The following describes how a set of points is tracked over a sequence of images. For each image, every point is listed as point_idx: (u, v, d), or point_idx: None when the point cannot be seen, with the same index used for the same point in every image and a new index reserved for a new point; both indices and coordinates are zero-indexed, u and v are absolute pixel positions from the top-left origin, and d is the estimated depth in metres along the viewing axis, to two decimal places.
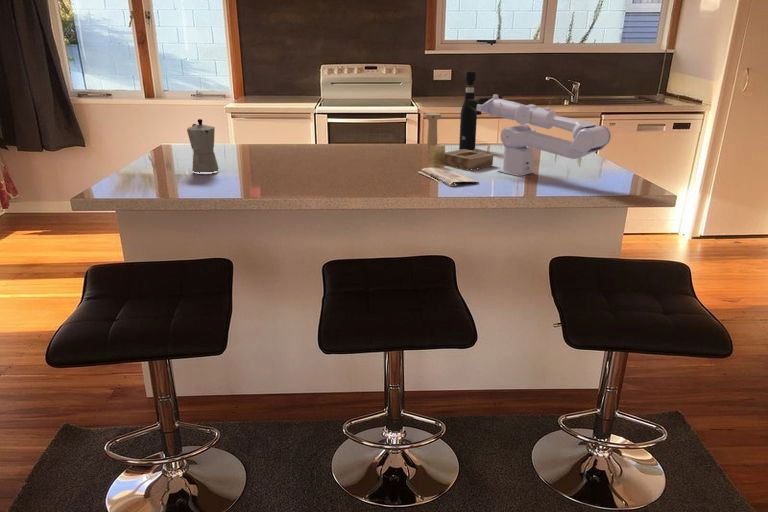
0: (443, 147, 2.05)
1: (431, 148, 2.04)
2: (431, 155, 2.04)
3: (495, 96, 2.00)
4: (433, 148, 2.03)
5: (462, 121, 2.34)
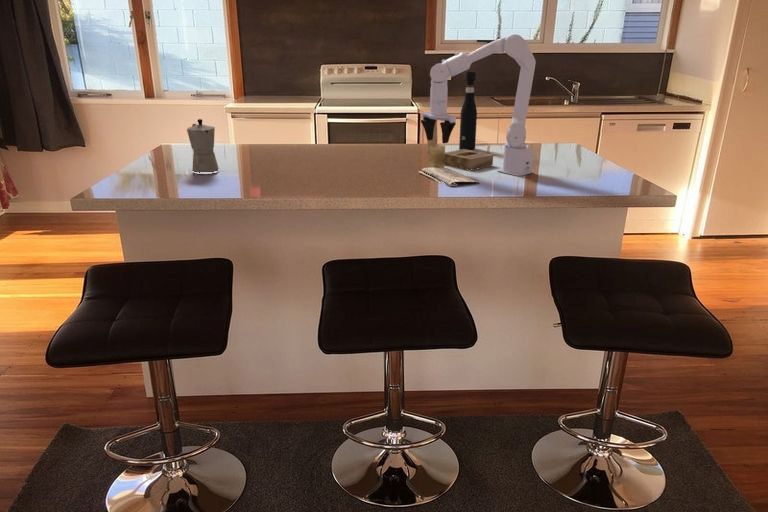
0: (443, 147, 2.05)
1: (431, 148, 2.04)
2: (431, 155, 2.04)
3: (432, 115, 1.98)
4: (433, 148, 2.03)
5: (462, 121, 2.34)
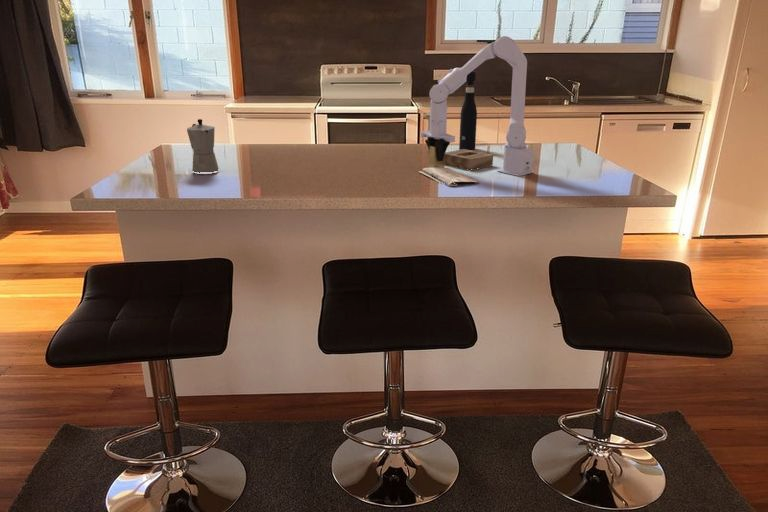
0: None
1: (431, 148, 2.04)
2: (431, 155, 2.04)
3: (431, 135, 2.01)
4: (433, 148, 2.03)
5: (462, 121, 2.34)
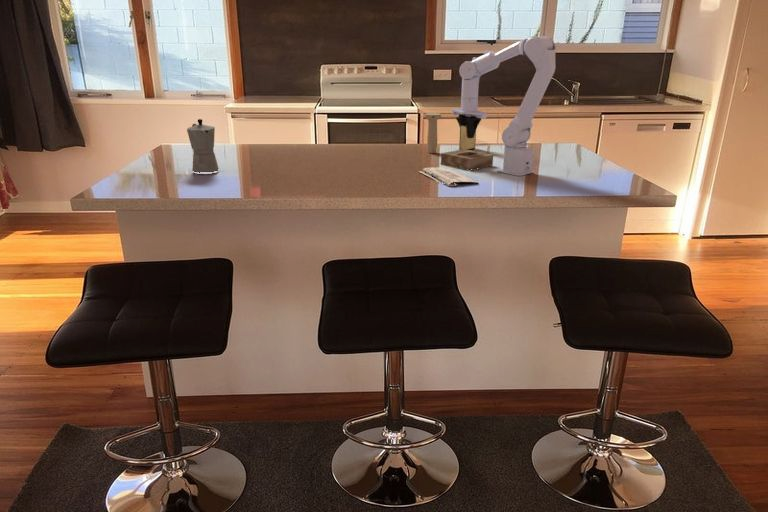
0: None
1: (462, 128, 2.06)
2: (462, 135, 2.07)
3: (463, 111, 2.03)
4: (464, 127, 2.06)
5: None
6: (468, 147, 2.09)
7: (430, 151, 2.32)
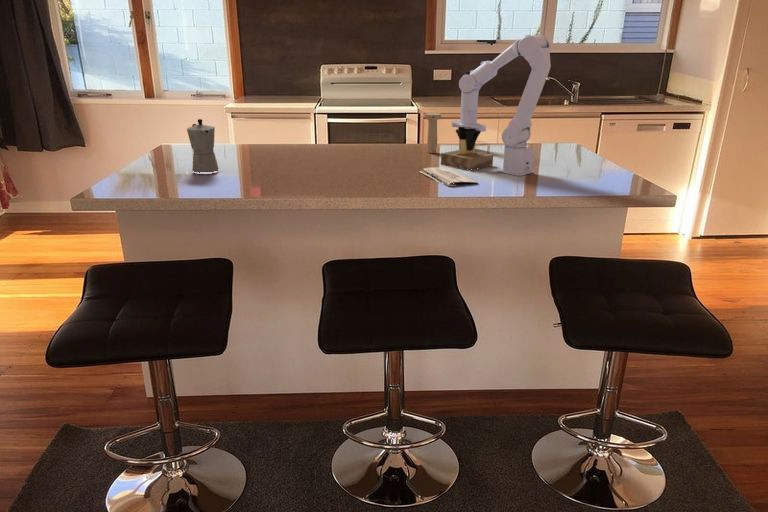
0: None
1: (462, 141, 2.08)
2: (462, 148, 2.09)
3: (462, 124, 2.05)
4: (464, 141, 2.07)
5: None
6: None
7: (430, 151, 2.32)
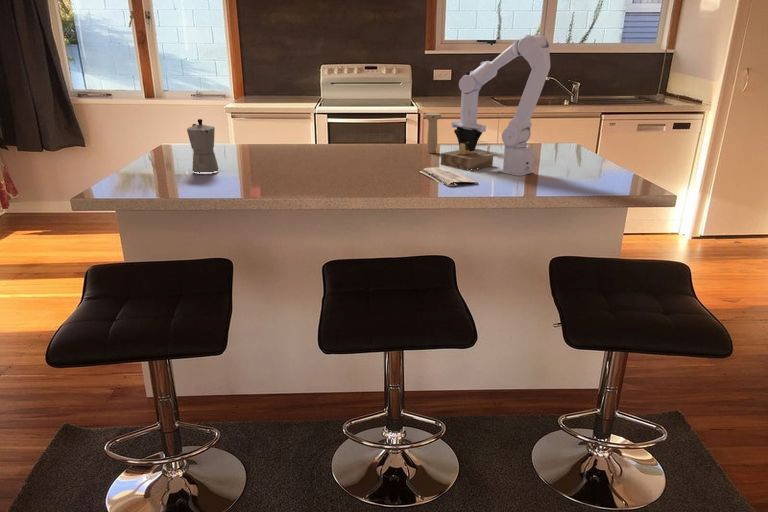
0: None
1: (461, 145, 2.09)
2: (461, 152, 2.09)
3: (462, 125, 2.05)
4: (463, 145, 2.08)
5: None
6: None
7: (430, 151, 2.32)
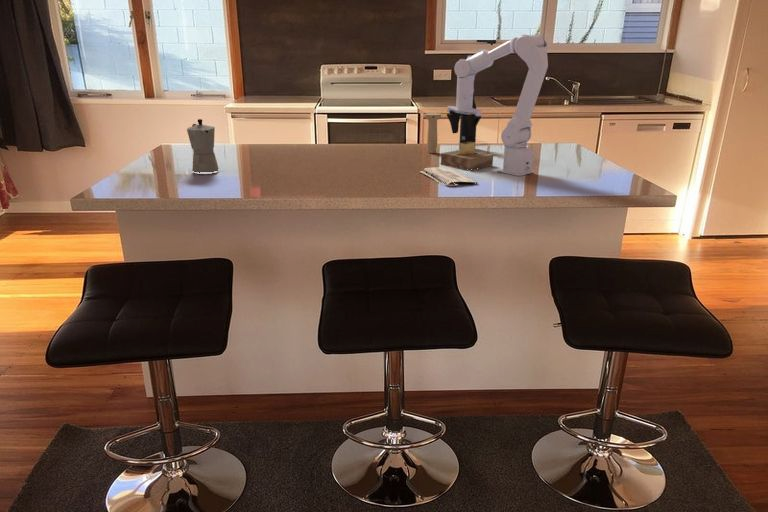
0: (473, 144, 2.10)
1: (462, 145, 2.09)
2: (461, 152, 2.09)
3: (458, 109, 2.06)
4: (464, 145, 2.08)
5: (462, 121, 2.34)
6: None
7: (430, 151, 2.32)
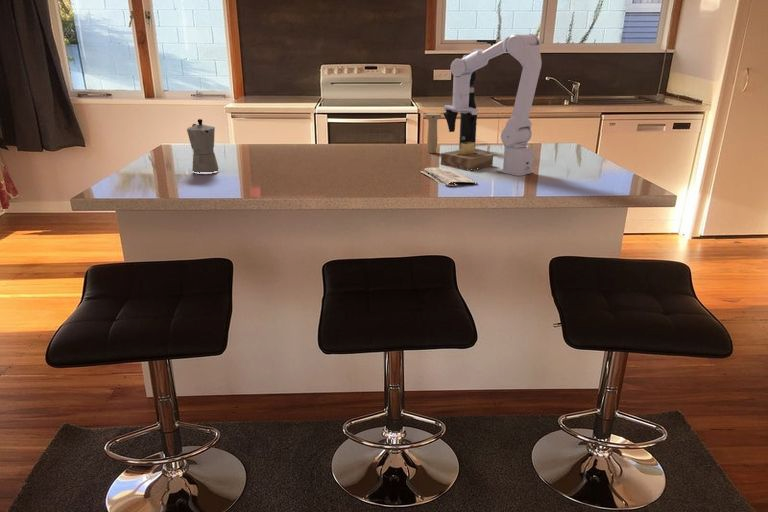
0: (473, 144, 2.10)
1: (462, 145, 2.09)
2: (461, 152, 2.09)
3: (454, 108, 2.09)
4: (464, 145, 2.08)
5: (462, 121, 2.34)
6: None
7: (430, 151, 2.32)
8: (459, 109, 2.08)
